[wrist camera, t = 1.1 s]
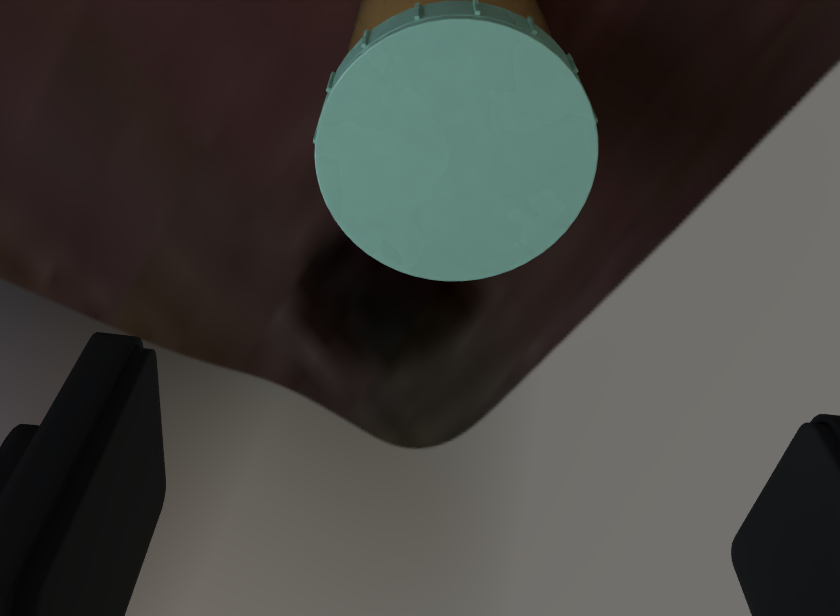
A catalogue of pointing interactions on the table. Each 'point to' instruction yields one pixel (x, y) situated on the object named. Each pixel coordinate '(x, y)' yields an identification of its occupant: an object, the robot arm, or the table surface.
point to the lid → (456, 141)
